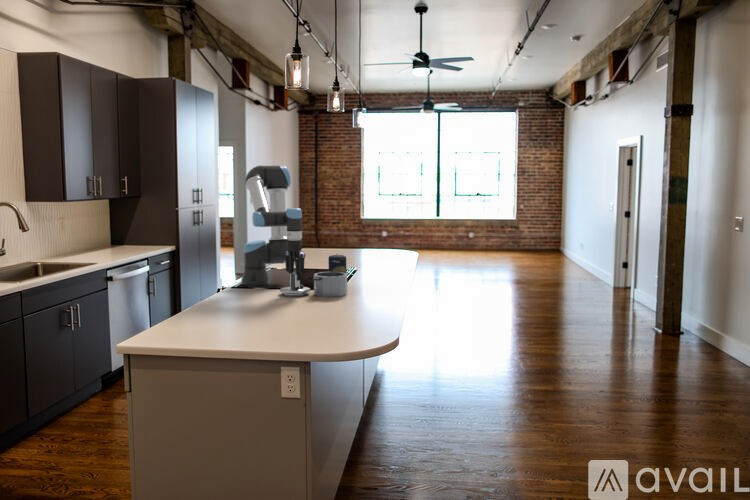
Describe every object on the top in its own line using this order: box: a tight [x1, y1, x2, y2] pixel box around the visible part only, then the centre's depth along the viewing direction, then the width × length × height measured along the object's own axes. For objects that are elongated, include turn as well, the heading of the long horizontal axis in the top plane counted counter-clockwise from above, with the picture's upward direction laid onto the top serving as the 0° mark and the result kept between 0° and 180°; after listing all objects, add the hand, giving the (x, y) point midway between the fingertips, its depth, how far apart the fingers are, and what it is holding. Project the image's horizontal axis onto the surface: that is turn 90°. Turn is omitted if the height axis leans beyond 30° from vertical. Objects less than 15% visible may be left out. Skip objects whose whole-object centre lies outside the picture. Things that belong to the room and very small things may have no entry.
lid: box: [279, 272, 311, 298], centre depth 301 cm, size 15×15×11 cm
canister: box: [328, 253, 348, 274], centre depth 320 cm, size 10×10×18 cm
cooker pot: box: [312, 271, 348, 298], centre depth 302 cm, size 16×22×10 cm
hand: (295, 286), depth 301 cm, fingers closed on lid, 3 cm apart
